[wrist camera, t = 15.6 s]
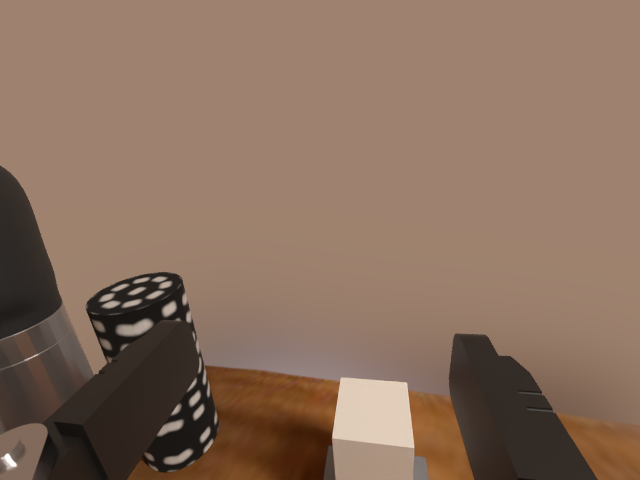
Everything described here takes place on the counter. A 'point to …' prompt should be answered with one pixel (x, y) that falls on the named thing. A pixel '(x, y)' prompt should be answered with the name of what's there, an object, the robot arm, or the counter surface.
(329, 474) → the base plate
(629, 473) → the counter surface
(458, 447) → the counter surface
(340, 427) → the block
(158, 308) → the white-spotted black cylinder
